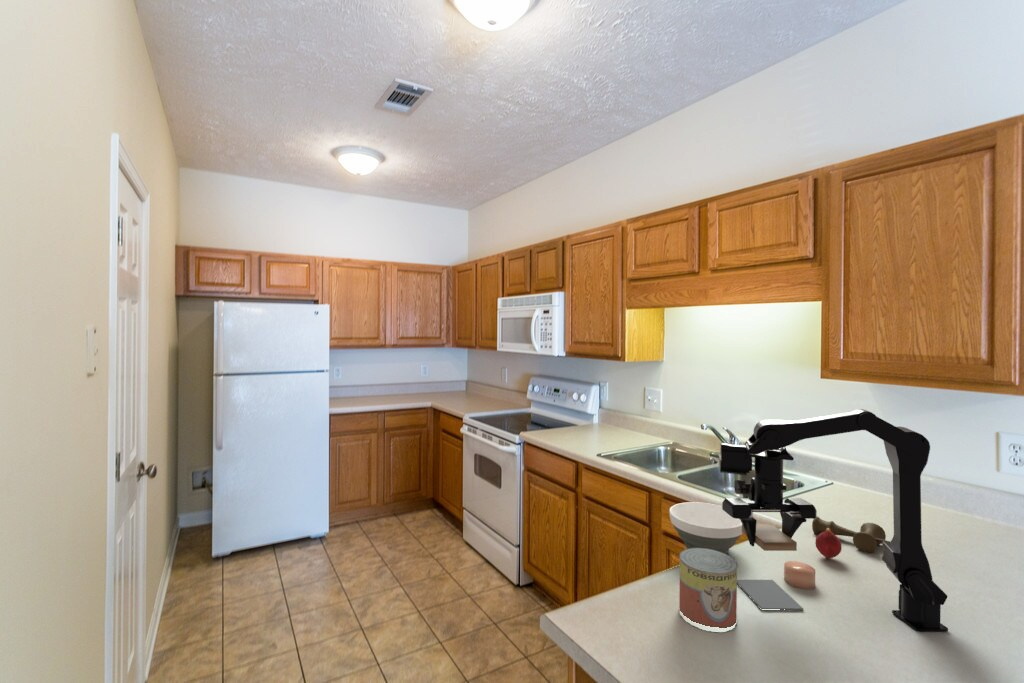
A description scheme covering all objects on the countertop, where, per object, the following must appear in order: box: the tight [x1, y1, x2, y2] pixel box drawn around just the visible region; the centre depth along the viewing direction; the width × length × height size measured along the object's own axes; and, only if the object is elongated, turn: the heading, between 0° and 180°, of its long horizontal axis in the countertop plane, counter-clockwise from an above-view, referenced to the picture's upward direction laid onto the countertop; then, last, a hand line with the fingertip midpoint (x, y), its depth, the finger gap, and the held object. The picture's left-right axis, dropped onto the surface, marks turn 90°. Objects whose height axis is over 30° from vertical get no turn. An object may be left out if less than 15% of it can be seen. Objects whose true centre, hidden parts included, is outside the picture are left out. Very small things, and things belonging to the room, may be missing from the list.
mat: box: [737, 579, 804, 611], centre depth 108 cm, size 12×9×1 cm
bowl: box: [669, 501, 744, 555], centre depth 132 cm, size 20×20×10 cm
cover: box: [742, 523, 798, 552], centre depth 108 cm, size 10×7×2 cm
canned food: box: [678, 548, 738, 628], centre depth 100 cm, size 11×11×12 cm
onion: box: [814, 528, 843, 560], centre depth 126 cm, size 6×6×8 cm
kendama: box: [811, 515, 891, 554], centre depth 136 cm, size 6×10×20 cm
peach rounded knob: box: [783, 560, 816, 590], centre depth 114 cm, size 6×6×4 cm
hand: (768, 545), depth 108 cm, fingers closed on cover, 7 cm apart
